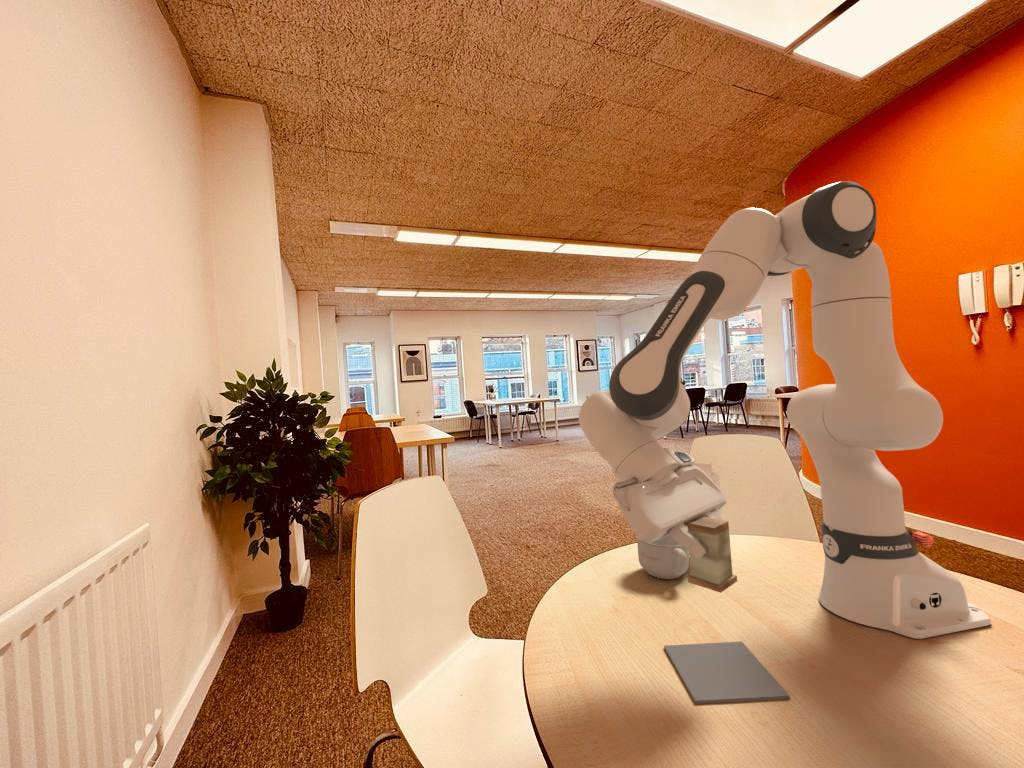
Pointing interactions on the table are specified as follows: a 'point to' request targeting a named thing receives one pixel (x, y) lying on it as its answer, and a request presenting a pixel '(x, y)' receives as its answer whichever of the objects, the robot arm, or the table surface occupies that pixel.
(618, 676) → the table surface
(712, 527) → the banded square pillar
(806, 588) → the table surface
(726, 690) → the mat
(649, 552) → the teacup
